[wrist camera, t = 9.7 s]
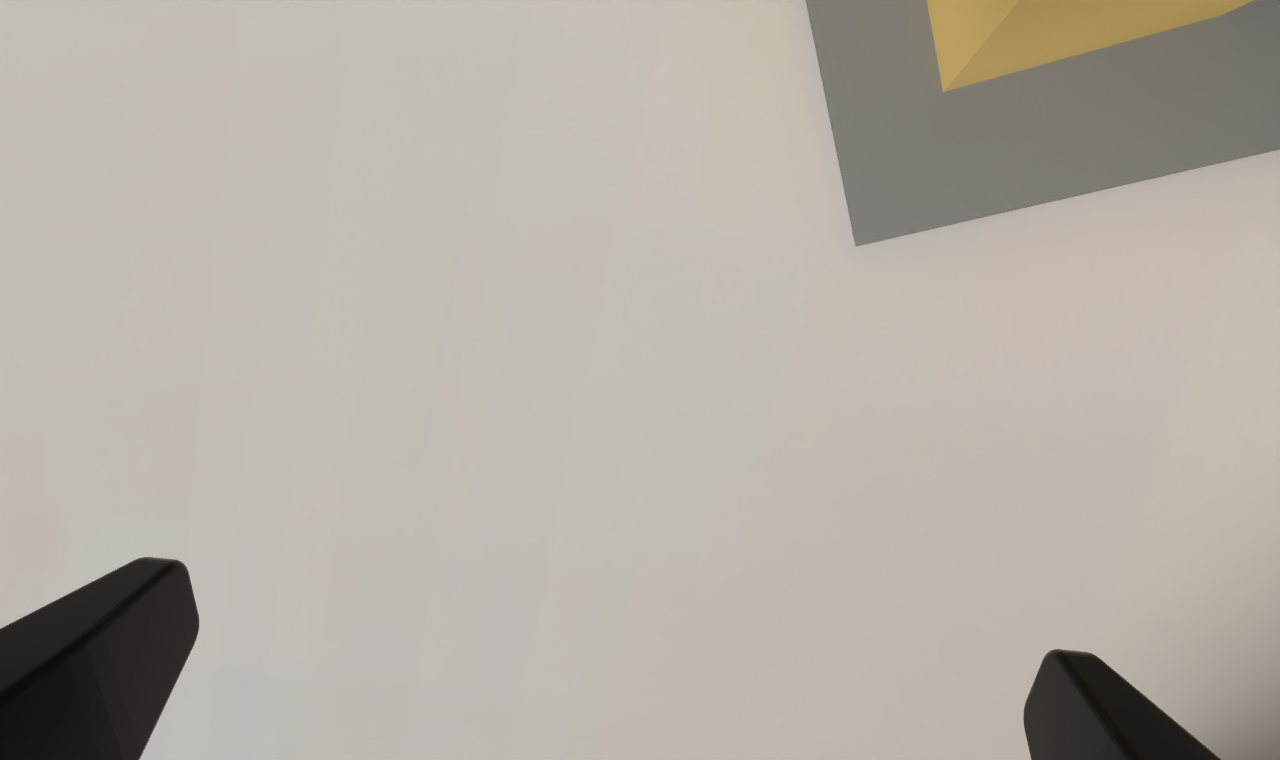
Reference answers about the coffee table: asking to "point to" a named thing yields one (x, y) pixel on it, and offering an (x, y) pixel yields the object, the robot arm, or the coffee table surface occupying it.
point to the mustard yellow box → (1046, 30)
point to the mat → (1033, 114)
